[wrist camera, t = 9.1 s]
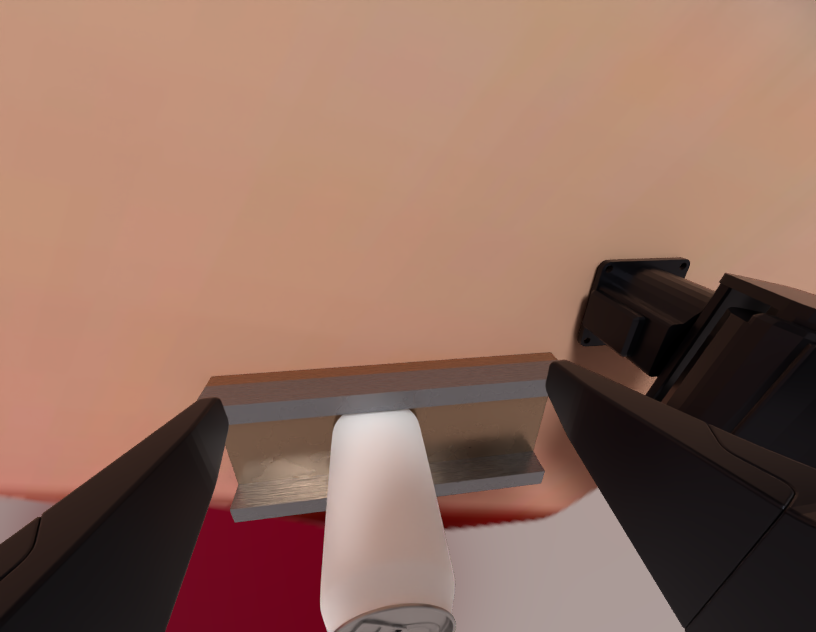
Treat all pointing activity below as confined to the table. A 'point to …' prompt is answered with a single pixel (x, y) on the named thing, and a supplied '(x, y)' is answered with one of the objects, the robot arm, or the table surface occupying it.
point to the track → (371, 392)
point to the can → (384, 531)
